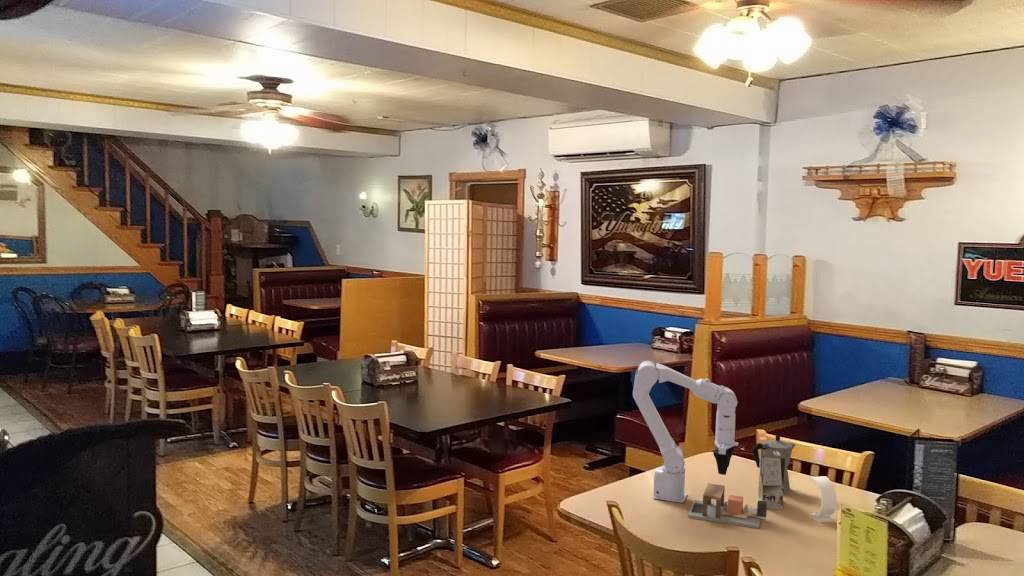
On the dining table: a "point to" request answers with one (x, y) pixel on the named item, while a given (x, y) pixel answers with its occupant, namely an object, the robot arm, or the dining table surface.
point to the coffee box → (771, 478)
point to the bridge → (713, 493)
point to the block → (735, 504)
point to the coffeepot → (776, 445)
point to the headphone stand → (825, 500)
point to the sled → (760, 510)
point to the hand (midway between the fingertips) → (723, 470)
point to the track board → (711, 515)
